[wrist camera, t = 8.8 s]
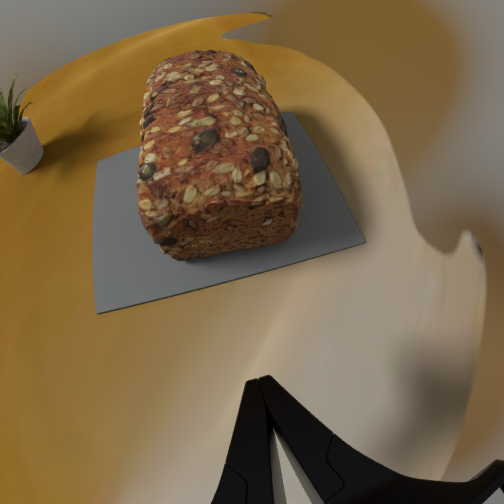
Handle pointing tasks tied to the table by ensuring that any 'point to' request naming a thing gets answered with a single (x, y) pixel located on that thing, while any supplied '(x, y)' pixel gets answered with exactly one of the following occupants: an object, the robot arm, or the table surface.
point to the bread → (214, 159)
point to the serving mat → (216, 267)
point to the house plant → (18, 137)
